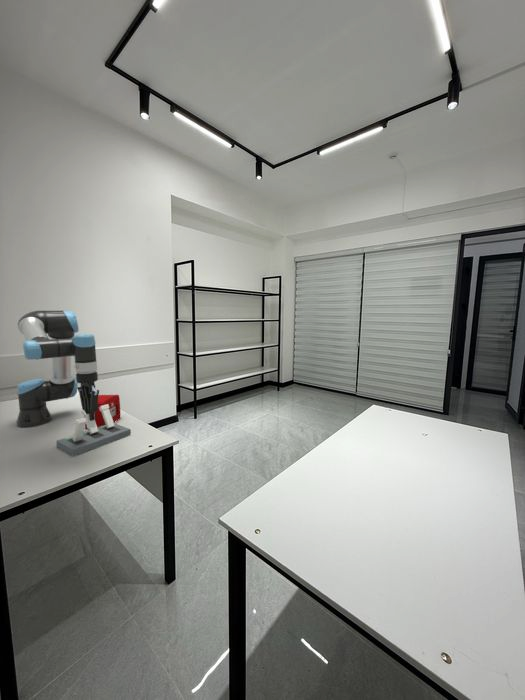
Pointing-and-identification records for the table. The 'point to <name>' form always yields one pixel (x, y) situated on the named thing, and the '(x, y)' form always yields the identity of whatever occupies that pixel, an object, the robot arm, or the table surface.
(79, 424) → the handle
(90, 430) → the handle
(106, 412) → the handle
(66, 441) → the breaker panel
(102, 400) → the fire alarm
